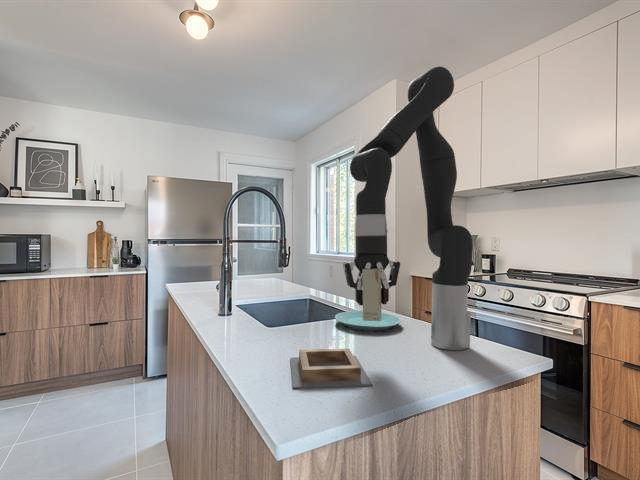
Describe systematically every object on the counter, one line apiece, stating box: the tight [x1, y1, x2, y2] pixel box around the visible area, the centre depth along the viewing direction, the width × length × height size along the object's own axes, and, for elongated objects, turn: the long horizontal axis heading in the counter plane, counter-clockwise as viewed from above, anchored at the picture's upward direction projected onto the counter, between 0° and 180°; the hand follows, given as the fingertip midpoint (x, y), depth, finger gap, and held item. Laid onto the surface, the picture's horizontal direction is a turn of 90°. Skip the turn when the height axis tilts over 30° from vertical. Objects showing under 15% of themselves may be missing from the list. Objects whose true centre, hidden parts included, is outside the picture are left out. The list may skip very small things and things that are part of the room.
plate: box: [334, 310, 402, 332], centre depth 114 cm, size 22×22×3 cm
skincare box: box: [362, 269, 382, 321], centre depth 81 cm, size 6×4×12 cm
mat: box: [289, 355, 374, 390], centre depth 75 cm, size 16×16×1 cm
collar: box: [298, 348, 361, 382], centre depth 75 cm, size 12×12×2 cm
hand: (372, 304), depth 81 cm, fingers closed on skincare box, 5 cm apart
